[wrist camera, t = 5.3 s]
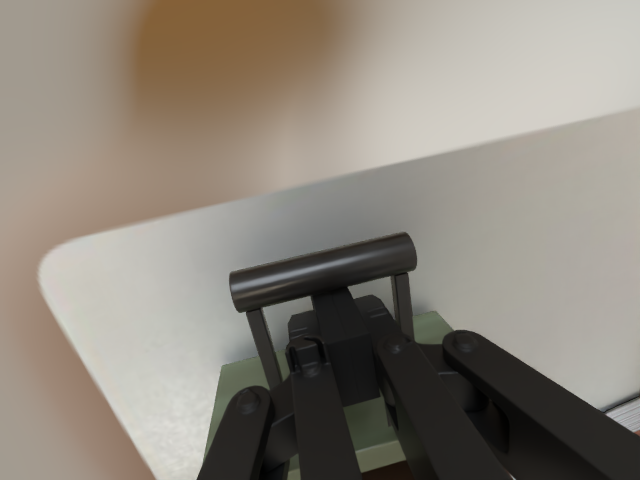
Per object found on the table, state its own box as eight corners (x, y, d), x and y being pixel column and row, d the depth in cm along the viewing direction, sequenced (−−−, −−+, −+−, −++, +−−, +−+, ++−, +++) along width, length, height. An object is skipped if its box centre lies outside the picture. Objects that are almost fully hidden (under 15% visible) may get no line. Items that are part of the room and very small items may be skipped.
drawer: (180, 253, 15) (116, 342, 9) (427, 197, 16) (531, 240, 10) (280, 526, 23) (286, 683, 16) (447, 476, 24) (514, 604, 17)
